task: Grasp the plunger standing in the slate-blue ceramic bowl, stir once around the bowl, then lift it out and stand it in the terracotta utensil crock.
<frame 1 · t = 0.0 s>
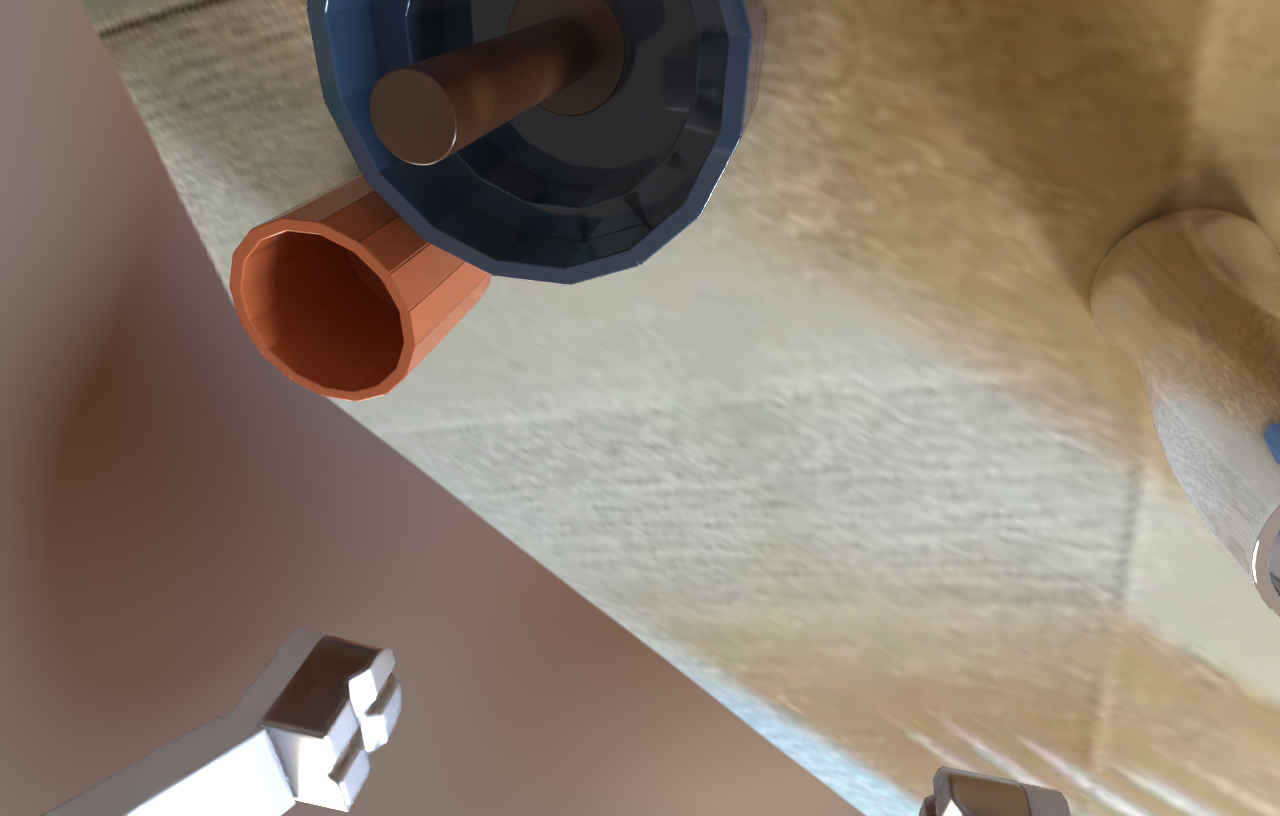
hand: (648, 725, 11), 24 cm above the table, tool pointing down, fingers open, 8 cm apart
beer glass: (1174, 282, 29), on the table
plunger: (572, 47, 28), point 1 cm above the table, touching bowl
crock: (417, 243, 35), on the table
bowl: (578, 44, 29), on the table
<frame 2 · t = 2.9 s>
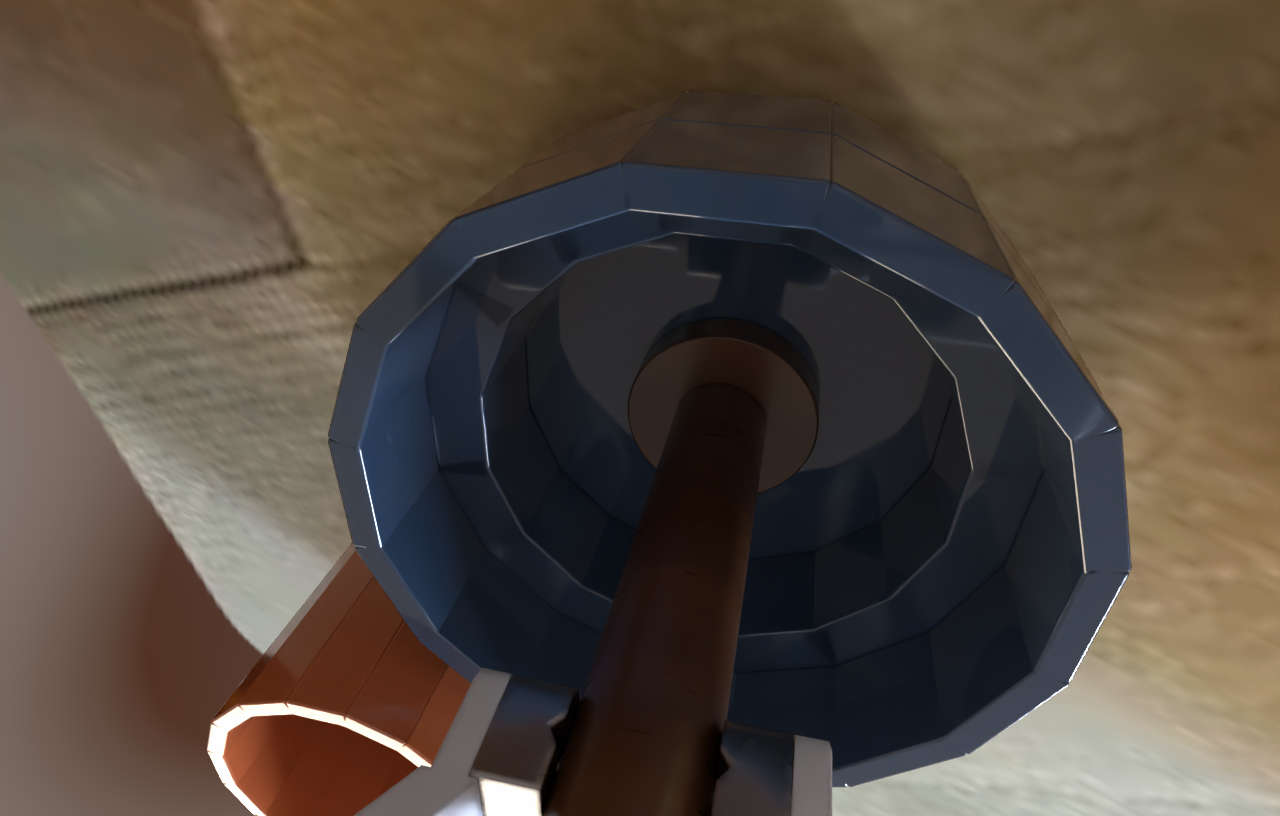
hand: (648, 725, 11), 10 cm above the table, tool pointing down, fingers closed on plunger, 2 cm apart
plunger: (725, 401, 19), point 1 cm above the table, touching bowl, gripper
crock: (471, 576, 26), on the table
bowl: (728, 384, 19), on the table
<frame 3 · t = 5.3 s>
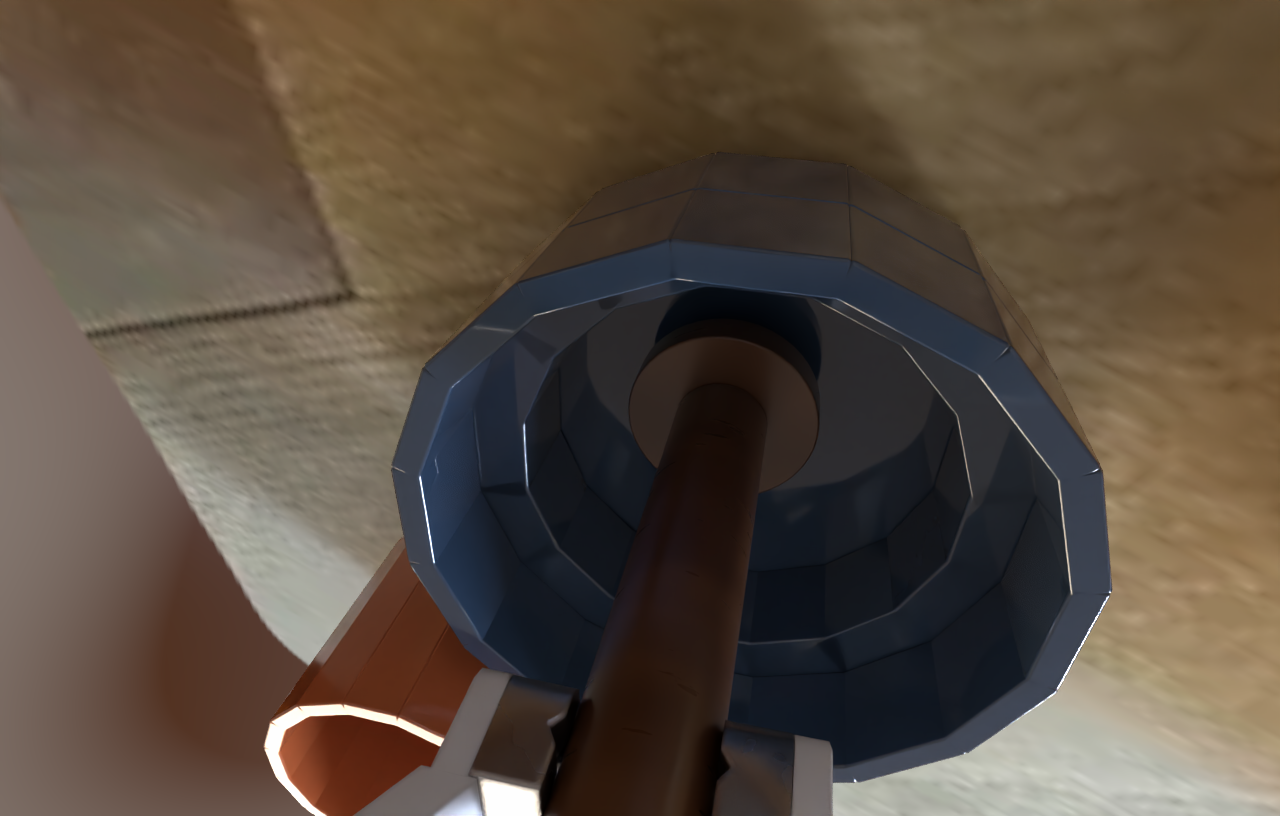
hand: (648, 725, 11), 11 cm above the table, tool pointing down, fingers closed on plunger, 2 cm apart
plunger: (725, 401, 19), point 2 cm above the table, touching gripper
crock: (499, 584, 27), on the table
bowl: (746, 411, 21), on the table
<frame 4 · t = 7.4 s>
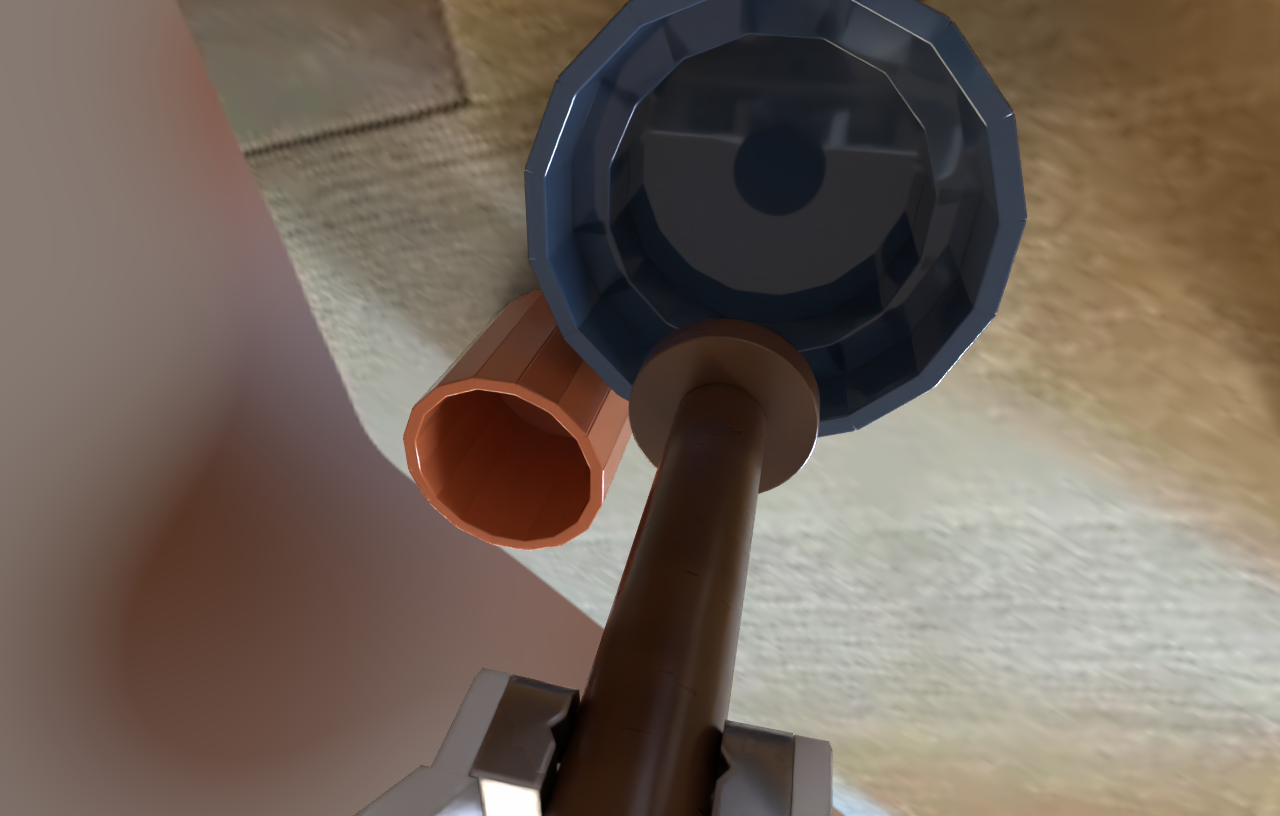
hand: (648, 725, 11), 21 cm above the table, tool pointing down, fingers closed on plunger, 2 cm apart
plunger: (725, 401, 19), point 12 cm above the table, touching gripper
crock: (566, 366, 34), on the table
bowl: (770, 182, 27), on the table
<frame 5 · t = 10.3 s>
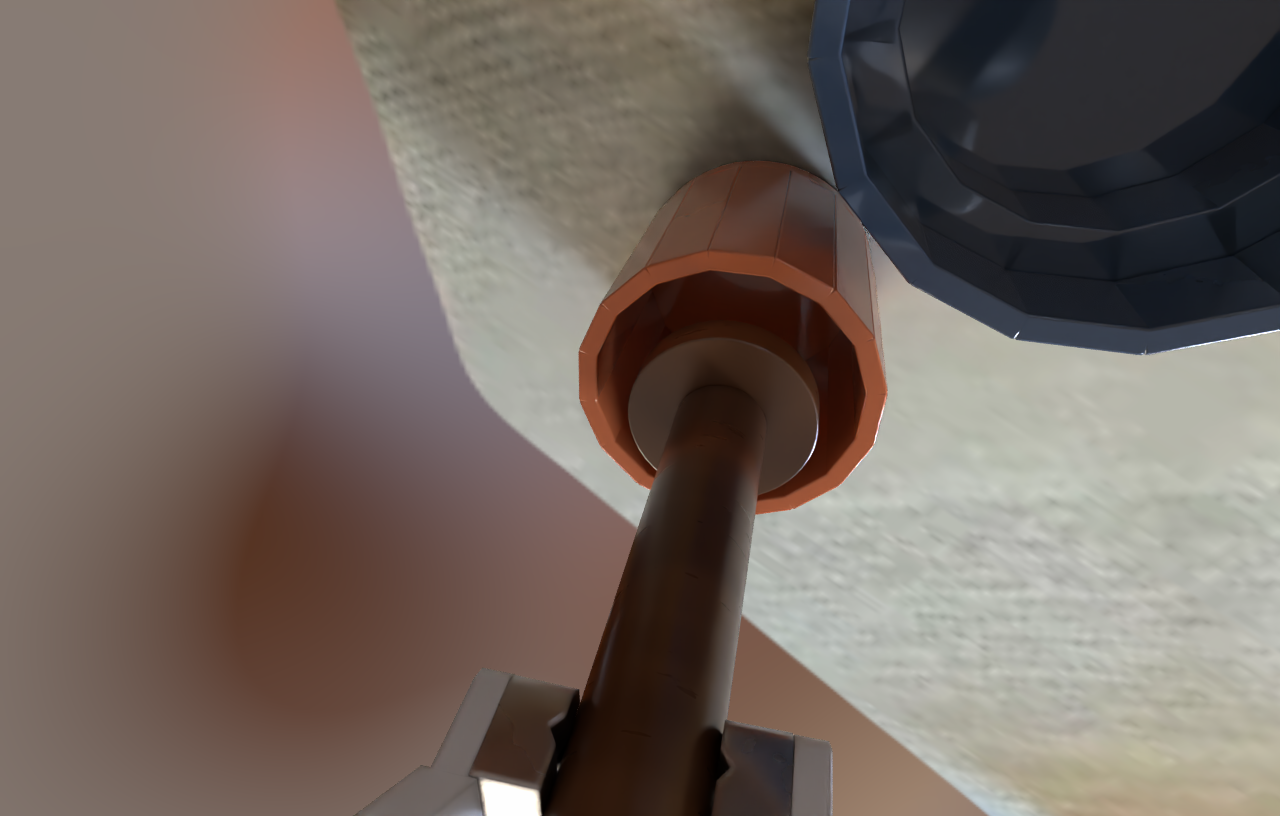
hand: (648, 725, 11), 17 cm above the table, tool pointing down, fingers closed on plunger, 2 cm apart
plunger: (725, 402, 19), point 8 cm above the table, touching gripper
crock: (753, 274, 25), on the table
when the fingers open (10 cm above the table, at t = 12.1 s): plunger stays where it is, resting on crock.
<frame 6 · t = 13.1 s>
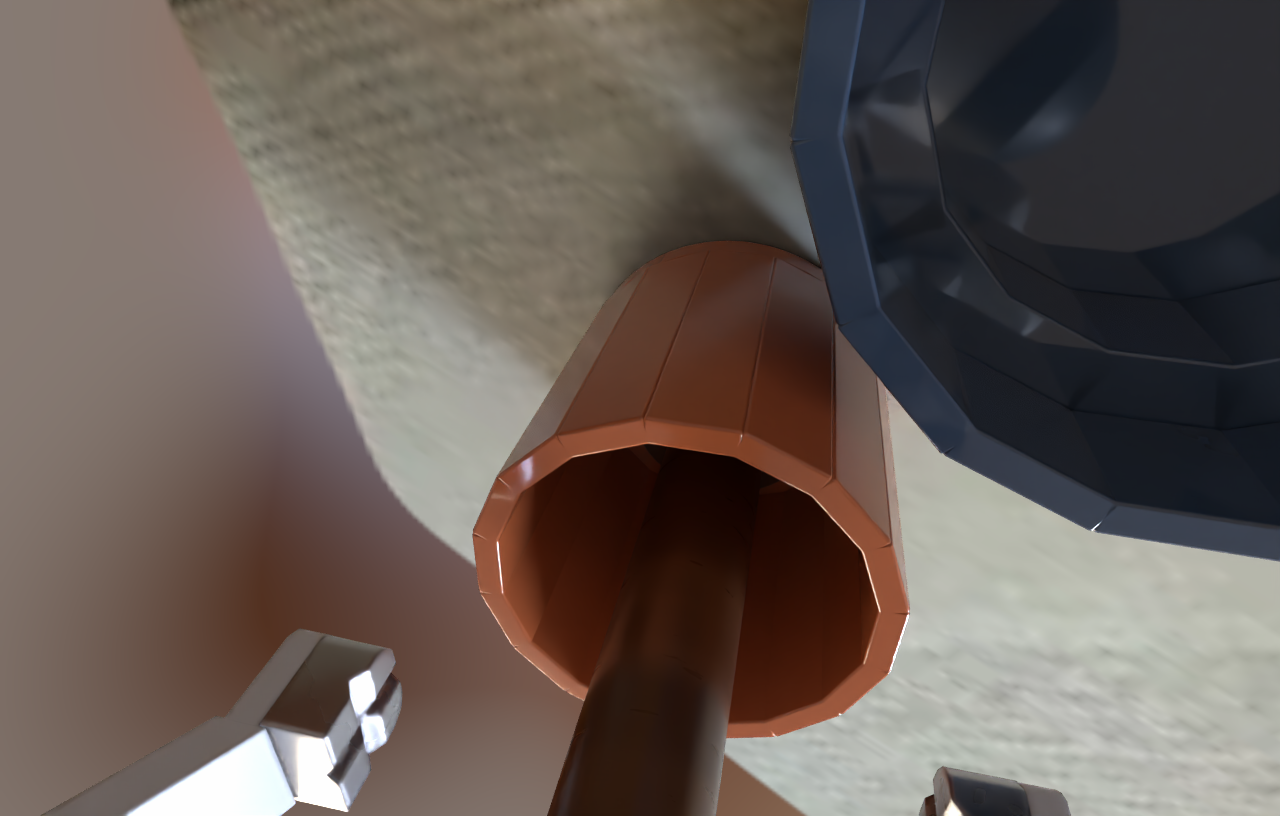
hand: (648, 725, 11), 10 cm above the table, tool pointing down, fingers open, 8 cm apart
plunger: (727, 398, 19), point 1 cm above the table, touching crock
crock: (729, 378, 20), on the table
bowl: (1219, 11, 13), on the table
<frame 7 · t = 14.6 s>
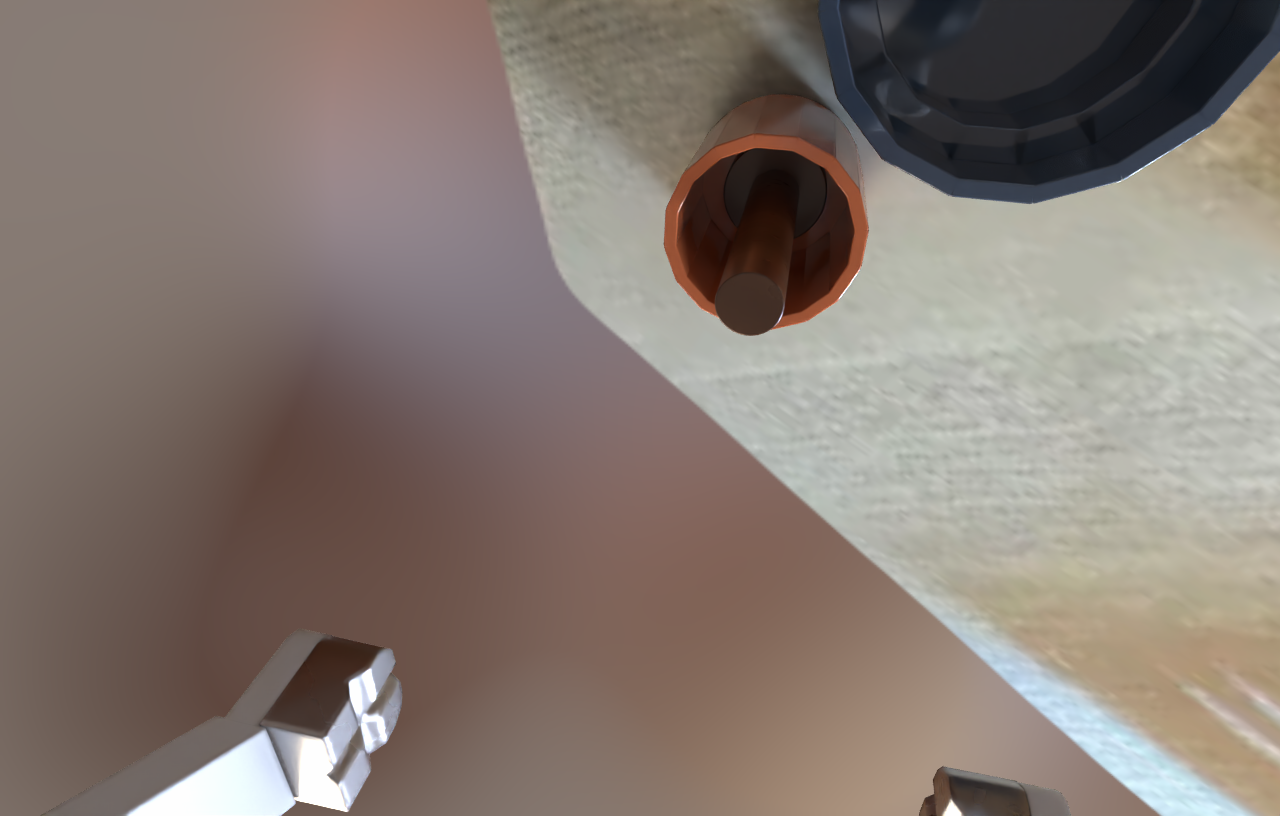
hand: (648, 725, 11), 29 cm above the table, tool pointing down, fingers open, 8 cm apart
plunger: (775, 188, 34), point 1 cm above the table, touching crock
crock: (776, 180, 35), on the table
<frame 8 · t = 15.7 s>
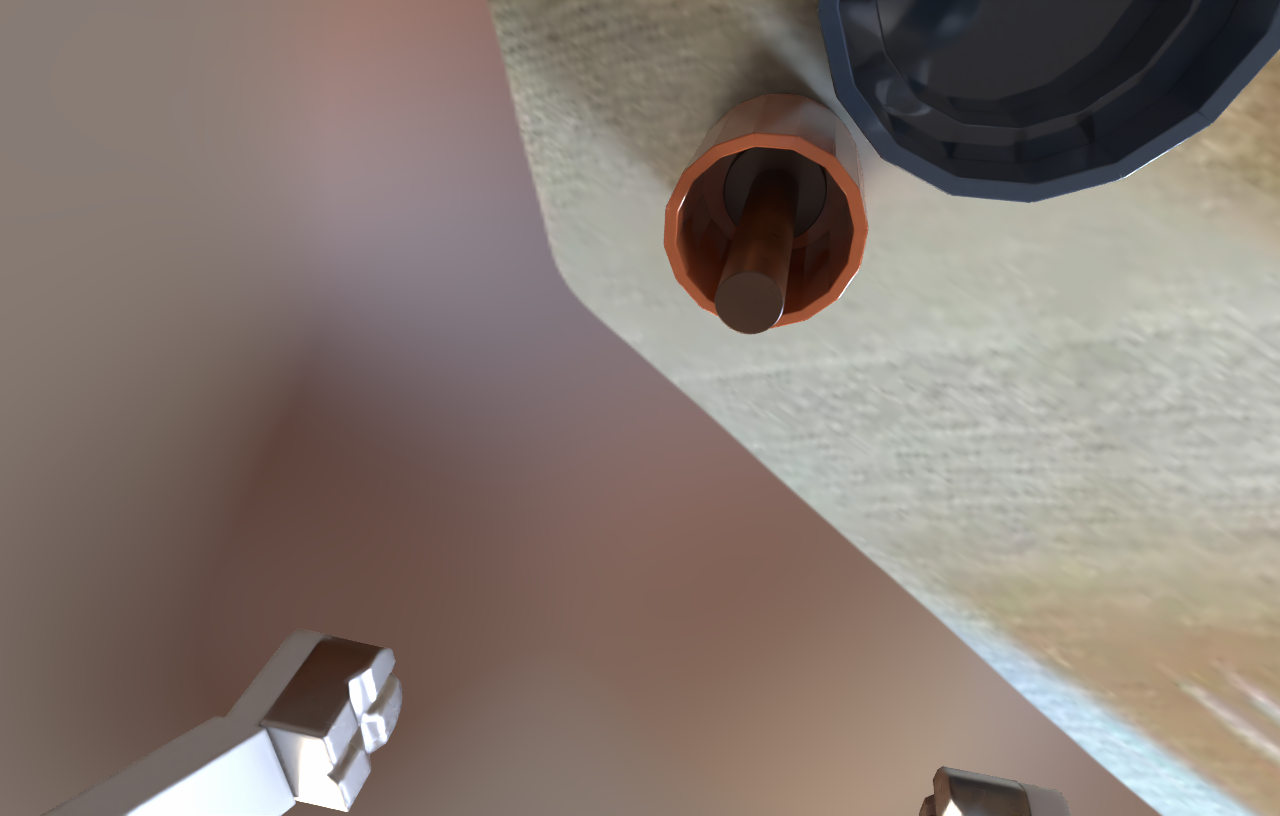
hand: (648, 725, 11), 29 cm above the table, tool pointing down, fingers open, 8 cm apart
plunger: (775, 186, 34), point 1 cm above the table, touching crock
crock: (775, 179, 35), on the table
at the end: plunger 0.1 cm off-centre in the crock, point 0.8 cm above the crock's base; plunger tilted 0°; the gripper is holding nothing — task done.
